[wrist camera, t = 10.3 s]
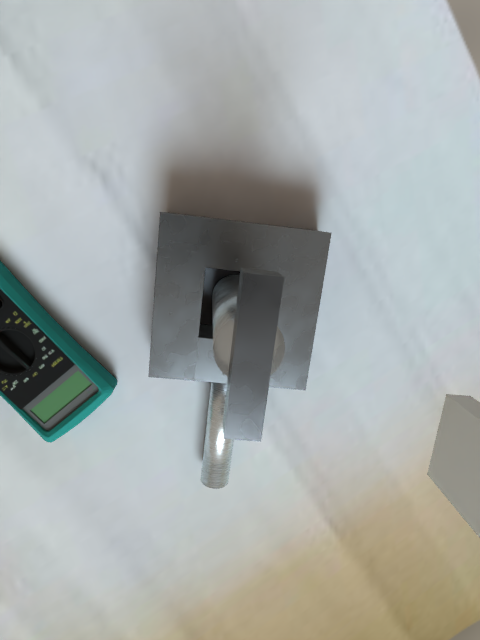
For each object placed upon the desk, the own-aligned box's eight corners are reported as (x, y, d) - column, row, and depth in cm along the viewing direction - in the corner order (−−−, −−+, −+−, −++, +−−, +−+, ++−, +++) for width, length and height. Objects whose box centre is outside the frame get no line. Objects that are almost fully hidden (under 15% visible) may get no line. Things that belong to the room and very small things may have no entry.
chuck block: (166, 212, 33) (160, 212, 29) (317, 230, 34) (331, 232, 30) (147, 464, 38) (140, 493, 34) (279, 473, 39) (286, 501, 35)
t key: (217, 245, 34) (223, 270, 18) (262, 250, 34) (304, 279, 19) (207, 341, 35) (204, 437, 20) (250, 345, 36) (279, 442, 20)
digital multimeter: (-10, 245, 33) (-31, 248, 30) (122, 381, 36) (115, 395, 33) (-75, 304, 34) (-102, 313, 31) (60, 432, 37) (47, 450, 34)
